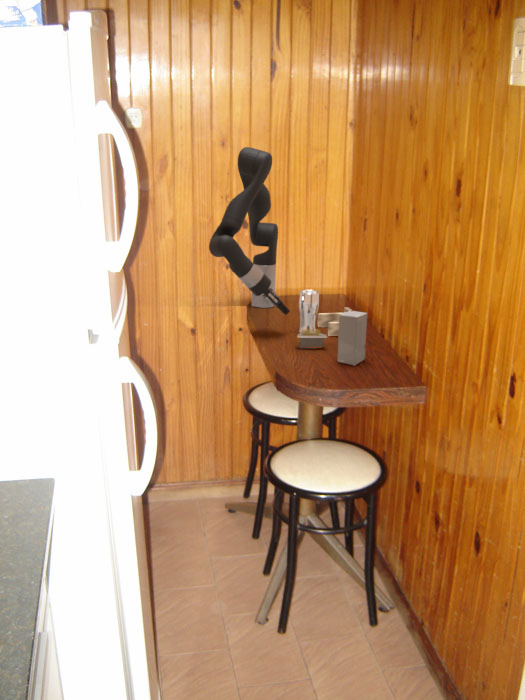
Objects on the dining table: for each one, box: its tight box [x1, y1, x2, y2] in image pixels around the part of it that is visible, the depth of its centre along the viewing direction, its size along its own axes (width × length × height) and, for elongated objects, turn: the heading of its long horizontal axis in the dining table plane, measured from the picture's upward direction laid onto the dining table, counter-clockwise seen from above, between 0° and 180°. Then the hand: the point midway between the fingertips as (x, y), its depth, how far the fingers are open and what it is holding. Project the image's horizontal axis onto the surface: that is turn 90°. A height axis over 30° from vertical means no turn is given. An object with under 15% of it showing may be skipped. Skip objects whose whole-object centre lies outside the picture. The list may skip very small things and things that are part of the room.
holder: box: [317, 306, 353, 337], centre depth 265 cm, size 12×13×7 cm
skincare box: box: [337, 310, 368, 367], centre depth 232 cm, size 8×7×16 cm
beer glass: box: [298, 289, 320, 333], centre depth 261 cm, size 7×7×15 cm
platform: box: [297, 328, 328, 349], centre depth 245 cm, size 12×18×7 cm, turn 95°
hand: (287, 312), depth 259 cm, fingers closed
